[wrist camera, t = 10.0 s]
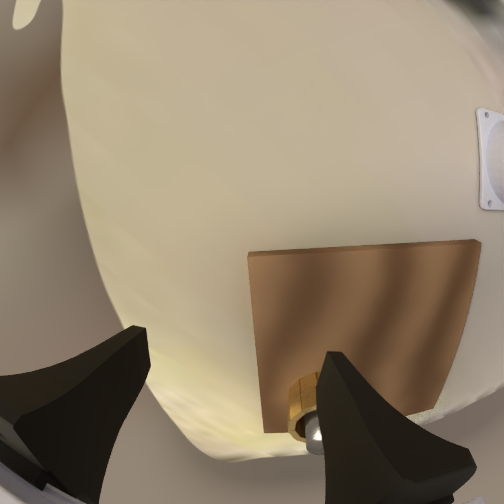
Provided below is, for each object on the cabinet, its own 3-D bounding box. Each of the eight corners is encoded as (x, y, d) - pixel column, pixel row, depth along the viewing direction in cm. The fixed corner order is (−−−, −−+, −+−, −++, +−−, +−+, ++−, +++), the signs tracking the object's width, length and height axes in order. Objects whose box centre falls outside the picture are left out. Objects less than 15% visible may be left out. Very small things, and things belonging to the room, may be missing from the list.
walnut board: (474, 239, 17) (481, 242, 16) (430, 402, 23) (433, 408, 22) (248, 252, 19) (247, 256, 18) (264, 425, 24) (264, 433, 23)
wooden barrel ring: (357, 370, 20) (367, 400, 17) (343, 412, 22) (349, 441, 19) (290, 371, 21) (292, 403, 17) (284, 414, 22) (285, 444, 19)
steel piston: (339, 380, 21) (351, 431, 16) (335, 403, 22) (344, 452, 16) (302, 383, 21) (307, 436, 16) (301, 406, 22) (305, 456, 17)
